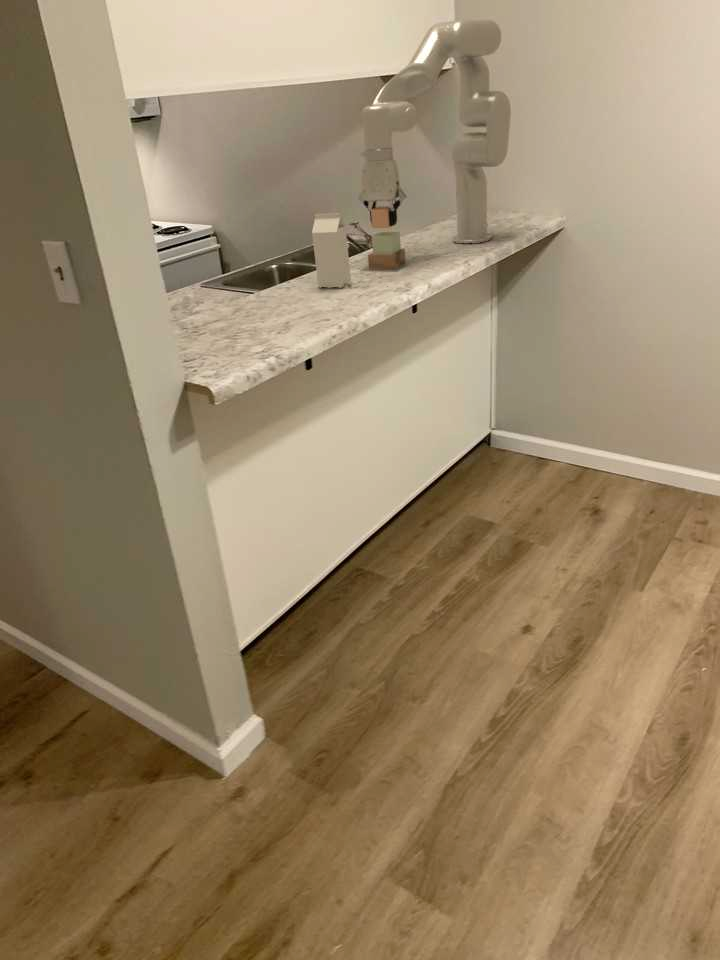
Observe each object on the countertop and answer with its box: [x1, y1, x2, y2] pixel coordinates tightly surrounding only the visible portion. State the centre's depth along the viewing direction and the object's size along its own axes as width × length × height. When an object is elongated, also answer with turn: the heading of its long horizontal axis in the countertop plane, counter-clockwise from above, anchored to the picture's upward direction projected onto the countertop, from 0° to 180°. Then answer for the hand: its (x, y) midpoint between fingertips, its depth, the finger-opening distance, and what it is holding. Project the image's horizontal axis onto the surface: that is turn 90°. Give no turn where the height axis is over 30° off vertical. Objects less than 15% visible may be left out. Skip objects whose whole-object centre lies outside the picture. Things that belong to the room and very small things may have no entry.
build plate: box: [359, 260, 415, 273], centre depth 214 cm, size 12×12×1 cm
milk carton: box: [311, 212, 352, 289], centre depth 199 cm, size 7×7×19 cm
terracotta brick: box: [371, 205, 397, 229], centre depth 207 cm, size 5×5×5 cm
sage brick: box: [371, 231, 402, 254], centre depth 211 cm, size 6×6×5 cm
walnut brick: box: [367, 248, 406, 270], centre depth 213 cm, size 8×8×4 cm
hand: (384, 224), depth 208 cm, fingers closed on terracotta brick, 5 cm apart
